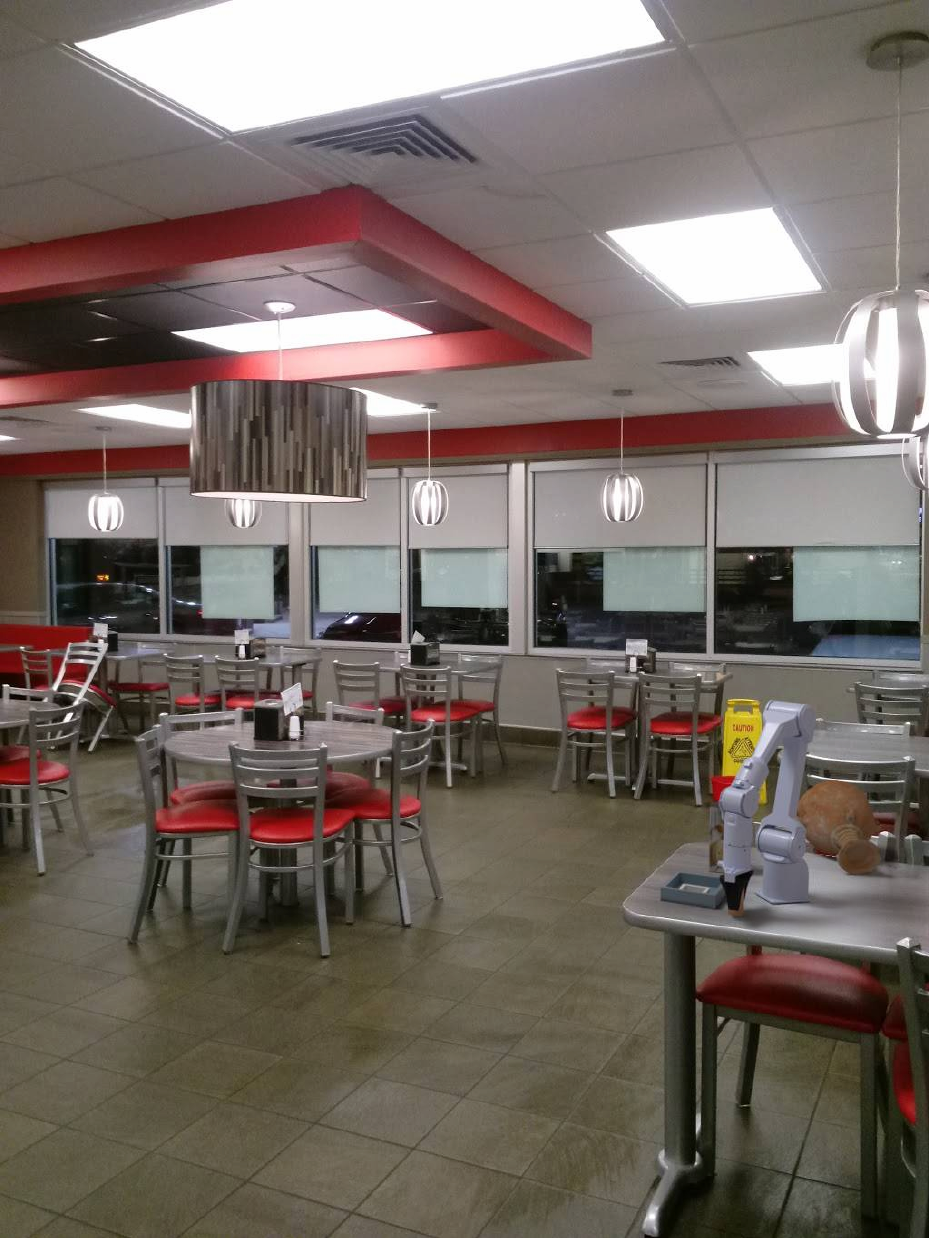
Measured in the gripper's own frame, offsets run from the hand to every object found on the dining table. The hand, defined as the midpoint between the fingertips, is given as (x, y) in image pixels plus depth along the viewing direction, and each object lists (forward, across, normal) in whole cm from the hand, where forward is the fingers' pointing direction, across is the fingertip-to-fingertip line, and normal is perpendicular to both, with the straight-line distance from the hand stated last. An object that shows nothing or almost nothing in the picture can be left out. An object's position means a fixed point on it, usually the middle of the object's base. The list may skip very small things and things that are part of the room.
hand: (735, 906), depth 220 cm
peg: (+2, 0, 0) cm, 2 cm away
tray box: (+2, -8, -11) cm, 13 cm away
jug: (+2, -55, +14) cm, 57 cm away
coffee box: (+2, -32, -9) cm, 33 cm away
